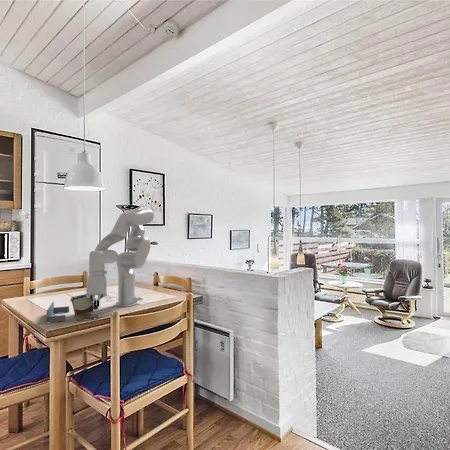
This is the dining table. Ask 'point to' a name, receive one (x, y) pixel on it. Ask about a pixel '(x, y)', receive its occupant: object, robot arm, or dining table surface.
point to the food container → (82, 304)
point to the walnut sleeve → (87, 316)
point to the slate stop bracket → (56, 310)
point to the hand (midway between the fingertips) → (96, 307)
